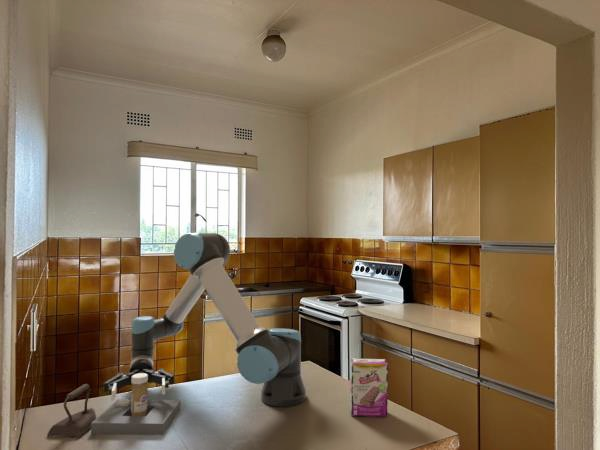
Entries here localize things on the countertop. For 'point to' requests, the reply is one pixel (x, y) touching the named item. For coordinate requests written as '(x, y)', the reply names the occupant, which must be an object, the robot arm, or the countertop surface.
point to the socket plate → (136, 418)
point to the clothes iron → (75, 418)
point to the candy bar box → (369, 387)
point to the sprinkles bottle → (139, 394)
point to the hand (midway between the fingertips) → (138, 392)
